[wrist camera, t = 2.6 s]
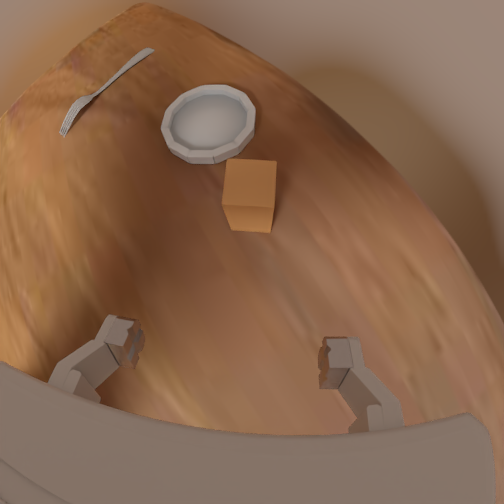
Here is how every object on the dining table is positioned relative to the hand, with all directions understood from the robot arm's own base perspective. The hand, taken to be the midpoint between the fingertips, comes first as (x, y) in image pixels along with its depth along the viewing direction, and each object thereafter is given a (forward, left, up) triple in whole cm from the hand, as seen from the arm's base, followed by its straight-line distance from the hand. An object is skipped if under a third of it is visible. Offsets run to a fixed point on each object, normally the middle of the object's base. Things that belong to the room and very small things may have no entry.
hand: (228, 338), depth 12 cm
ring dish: (-6, +22, -16) cm, 28 cm away
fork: (-24, +31, -17) cm, 43 cm away
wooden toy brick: (0, +11, -16) cm, 20 cm away
